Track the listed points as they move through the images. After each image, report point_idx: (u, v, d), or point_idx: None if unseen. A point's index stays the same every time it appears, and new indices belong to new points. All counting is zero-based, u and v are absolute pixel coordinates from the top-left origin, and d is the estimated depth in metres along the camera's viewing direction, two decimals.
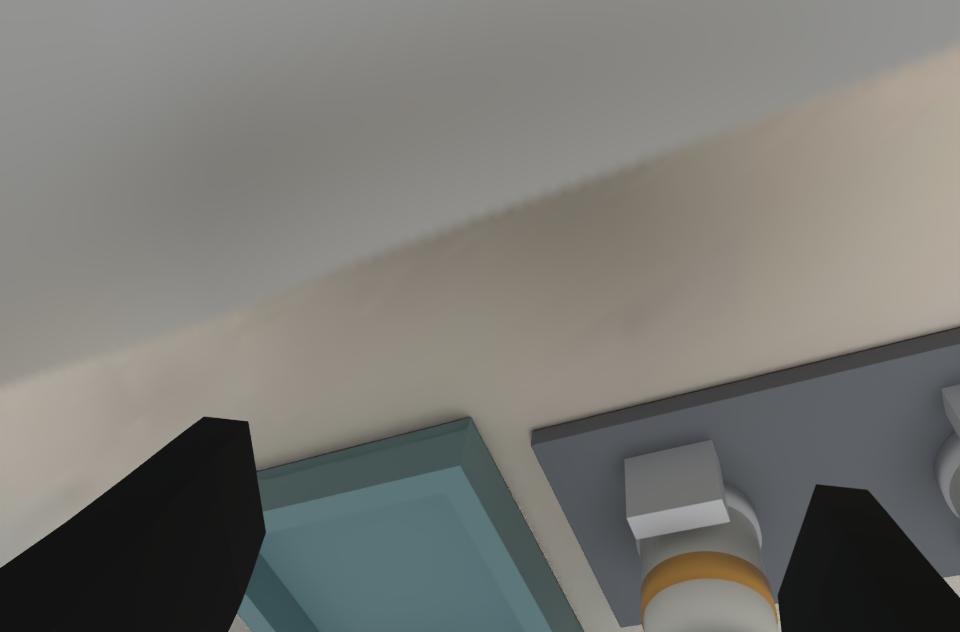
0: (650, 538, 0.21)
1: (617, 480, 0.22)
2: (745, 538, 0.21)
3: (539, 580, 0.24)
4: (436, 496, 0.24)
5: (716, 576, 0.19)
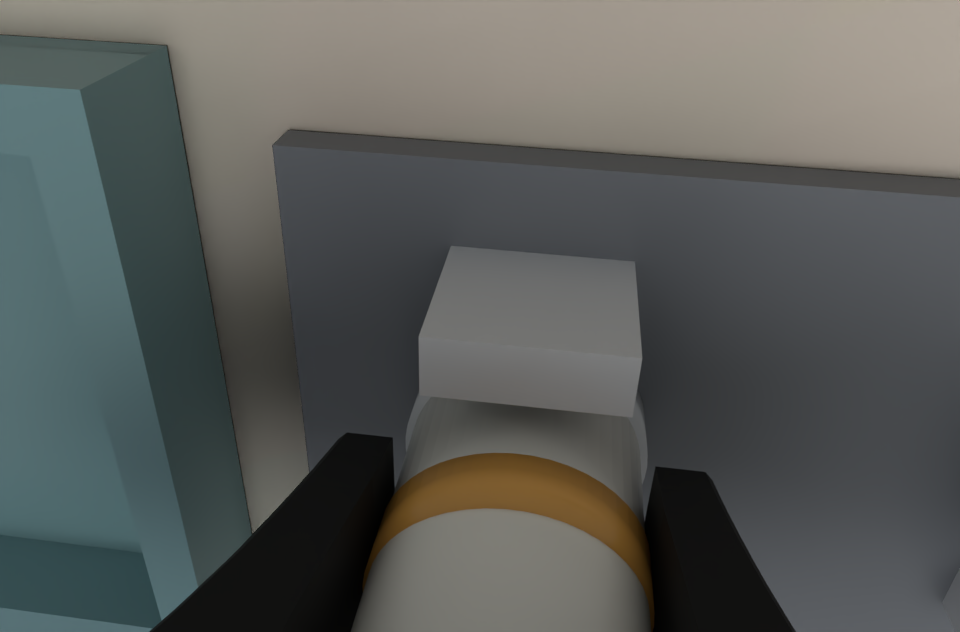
0: (445, 412, 0.10)
1: (418, 288, 0.11)
2: (631, 469, 0.10)
3: (199, 442, 0.12)
4: (41, 201, 0.11)
5: (570, 519, 0.08)
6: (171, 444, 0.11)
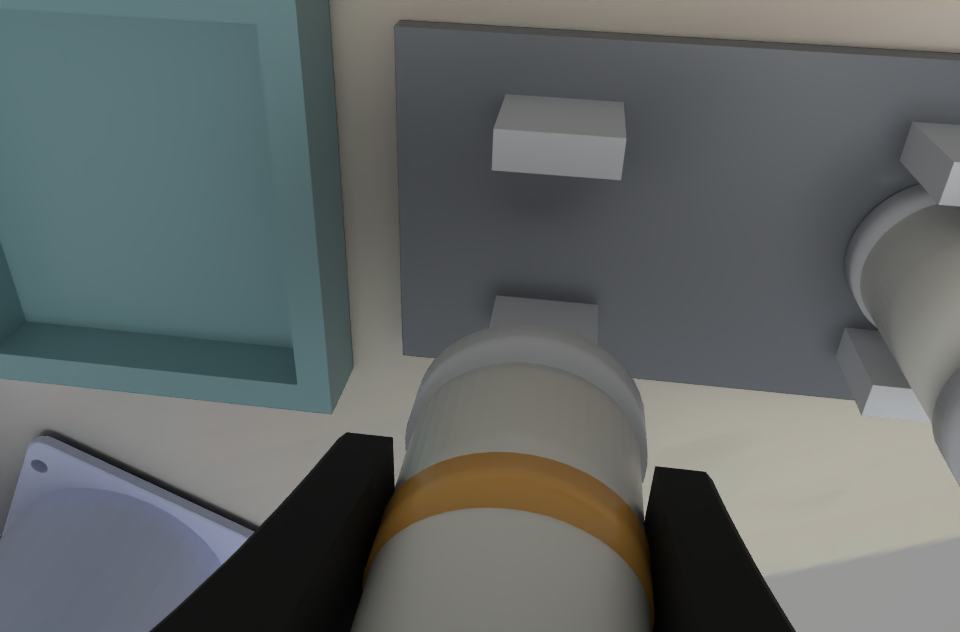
0: (445, 411, 0.10)
1: (483, 125, 0.17)
2: (631, 468, 0.10)
3: (330, 242, 0.18)
4: (236, 70, 0.17)
5: (570, 518, 0.08)
6: (318, 232, 0.17)
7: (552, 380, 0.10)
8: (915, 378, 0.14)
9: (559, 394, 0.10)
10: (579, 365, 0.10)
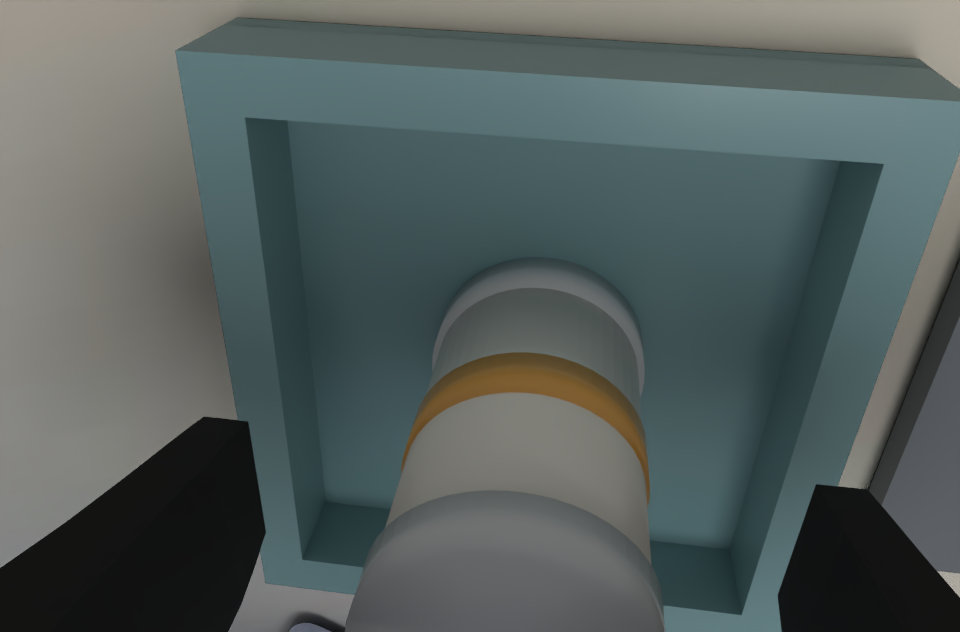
0: (469, 327, 0.12)
1: None
2: (630, 375, 0.11)
3: None
4: (744, 206, 0.12)
5: (579, 402, 0.10)
6: None
7: (562, 301, 0.12)
8: None
9: (568, 311, 0.11)
10: (585, 290, 0.12)
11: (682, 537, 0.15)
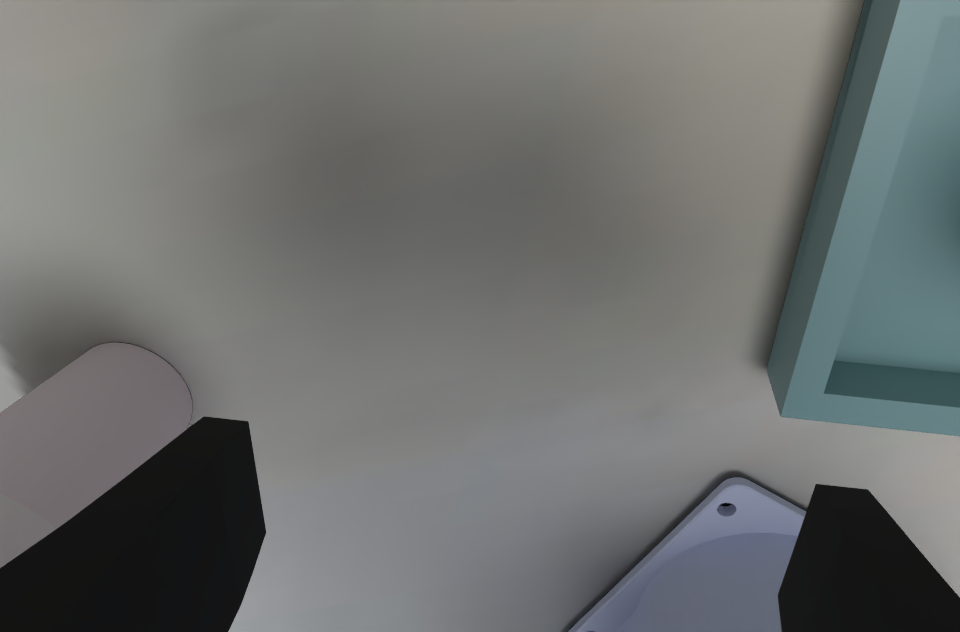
0: None
1: None
2: None
3: None
4: None
5: None
6: None
7: None
8: None
9: None
10: None
11: None
